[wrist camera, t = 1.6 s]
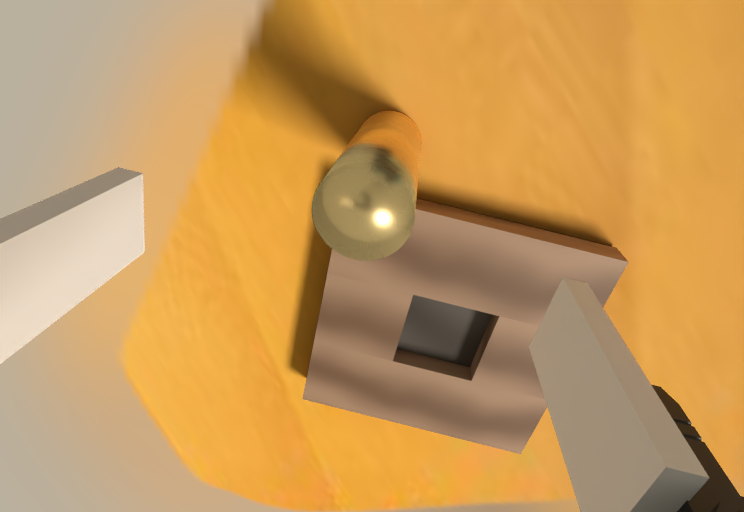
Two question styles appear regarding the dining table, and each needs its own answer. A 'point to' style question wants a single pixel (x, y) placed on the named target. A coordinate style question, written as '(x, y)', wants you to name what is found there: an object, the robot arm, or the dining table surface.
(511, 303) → the board
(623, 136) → the dining table surface
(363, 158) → the pin
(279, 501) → the dining table surface
